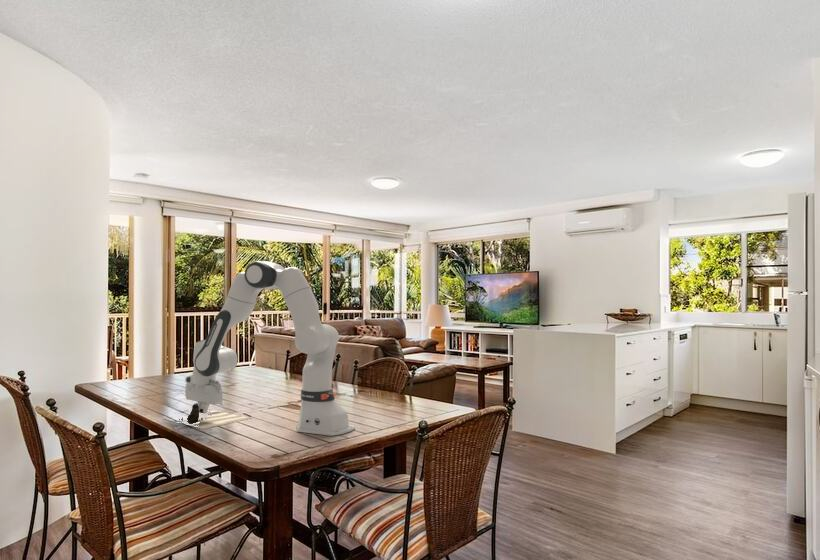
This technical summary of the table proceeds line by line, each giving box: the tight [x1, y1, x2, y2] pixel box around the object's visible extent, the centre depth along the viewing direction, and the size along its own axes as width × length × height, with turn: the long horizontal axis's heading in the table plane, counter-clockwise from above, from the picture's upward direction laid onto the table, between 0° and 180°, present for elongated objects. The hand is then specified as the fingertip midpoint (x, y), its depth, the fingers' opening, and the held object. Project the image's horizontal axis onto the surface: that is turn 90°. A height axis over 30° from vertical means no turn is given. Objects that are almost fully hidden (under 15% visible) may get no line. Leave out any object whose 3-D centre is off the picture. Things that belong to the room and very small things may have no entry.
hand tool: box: [187, 402, 199, 424], centre depth 199 cm, size 19×4×5 cm, turn 17°
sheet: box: [179, 408, 252, 430], centre depth 199 cm, size 28×22×1 cm
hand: (203, 413), depth 200 cm, fingers closed
